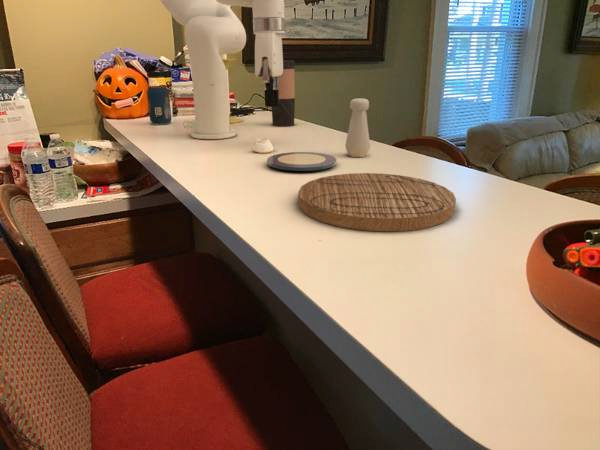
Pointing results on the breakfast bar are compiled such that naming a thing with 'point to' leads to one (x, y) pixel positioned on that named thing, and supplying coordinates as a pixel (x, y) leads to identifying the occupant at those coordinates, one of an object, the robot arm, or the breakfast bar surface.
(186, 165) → the breakfast bar surface
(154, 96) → the soda can
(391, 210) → the trivet
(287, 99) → the travel mug
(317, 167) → the plate
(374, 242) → the breakfast bar surface
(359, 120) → the salt shaker
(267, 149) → the white jar
